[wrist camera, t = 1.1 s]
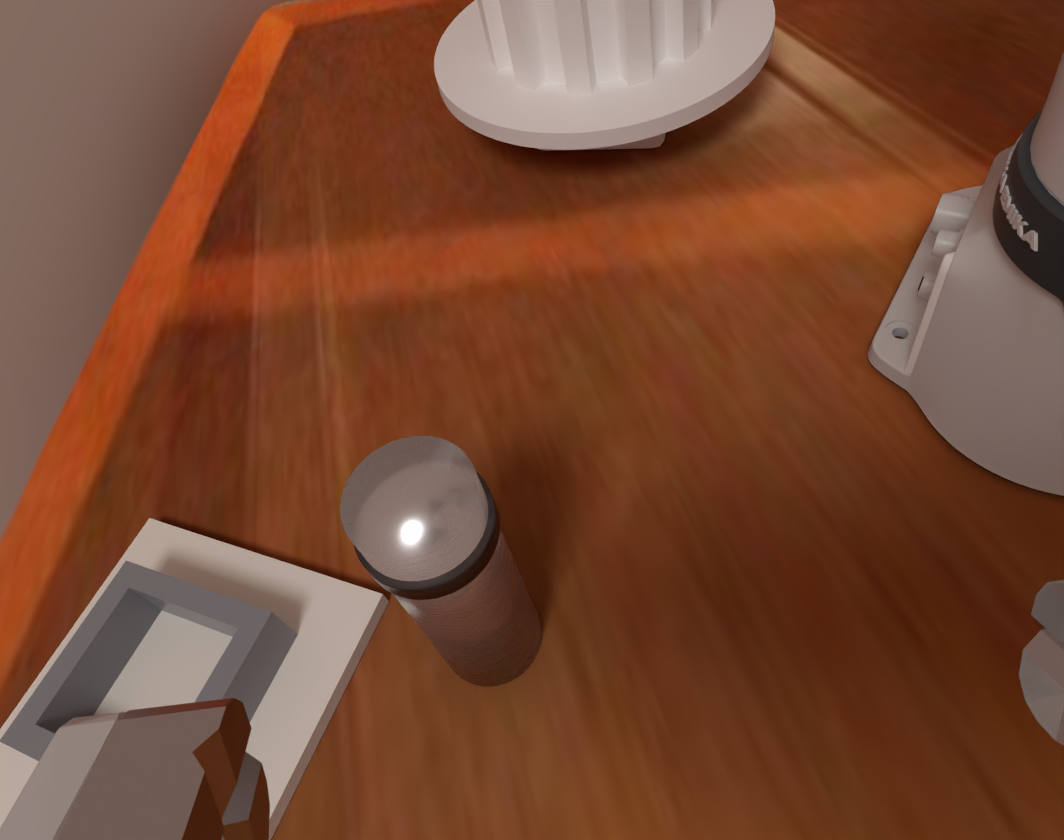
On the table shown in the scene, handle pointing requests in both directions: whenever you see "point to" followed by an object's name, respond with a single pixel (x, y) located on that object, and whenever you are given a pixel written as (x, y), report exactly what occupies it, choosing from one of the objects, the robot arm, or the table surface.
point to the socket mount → (202, 652)
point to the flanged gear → (598, 67)
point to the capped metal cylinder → (443, 555)
